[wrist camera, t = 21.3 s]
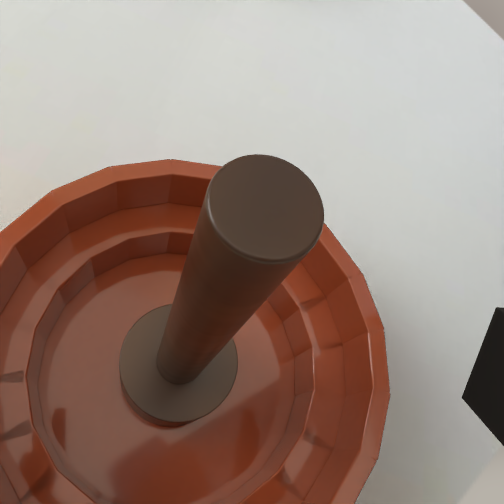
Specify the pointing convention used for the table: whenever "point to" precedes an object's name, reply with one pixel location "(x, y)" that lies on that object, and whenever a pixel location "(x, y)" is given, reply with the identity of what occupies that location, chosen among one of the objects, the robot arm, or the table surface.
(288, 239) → the brown joystick
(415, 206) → the table surface
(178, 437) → the bowl
